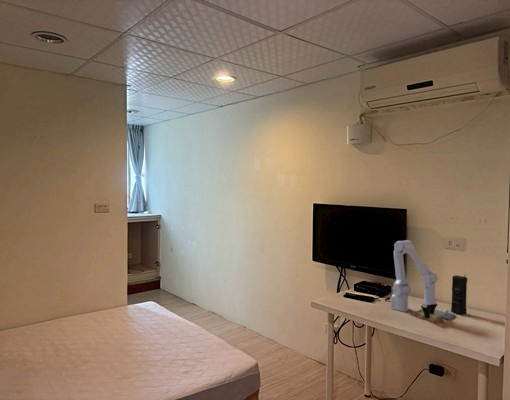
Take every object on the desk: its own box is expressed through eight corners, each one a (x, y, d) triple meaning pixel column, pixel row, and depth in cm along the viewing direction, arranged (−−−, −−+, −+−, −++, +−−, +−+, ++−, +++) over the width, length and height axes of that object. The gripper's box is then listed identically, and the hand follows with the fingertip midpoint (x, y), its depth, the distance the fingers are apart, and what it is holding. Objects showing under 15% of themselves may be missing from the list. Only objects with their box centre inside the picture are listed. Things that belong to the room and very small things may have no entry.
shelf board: (415, 317, 222) (415, 312, 222) (419, 315, 226) (419, 310, 226) (439, 323, 212) (439, 318, 212) (443, 321, 216) (443, 316, 216)
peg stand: (417, 312, 230) (418, 306, 229) (424, 309, 236) (424, 302, 236) (449, 320, 217) (449, 313, 216) (455, 316, 223) (455, 309, 223)
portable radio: (448, 311, 232) (449, 271, 231) (455, 310, 235) (456, 270, 233) (460, 315, 225) (461, 274, 224) (467, 313, 228) (468, 273, 226)
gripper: (431, 298, 210) (431, 321, 211) (441, 292, 220) (440, 315, 221) (419, 295, 215) (418, 318, 216) (429, 290, 225) (428, 312, 226)
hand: (429, 316), depth 219 cm, fingers closed on shelf board, 5 cm apart
